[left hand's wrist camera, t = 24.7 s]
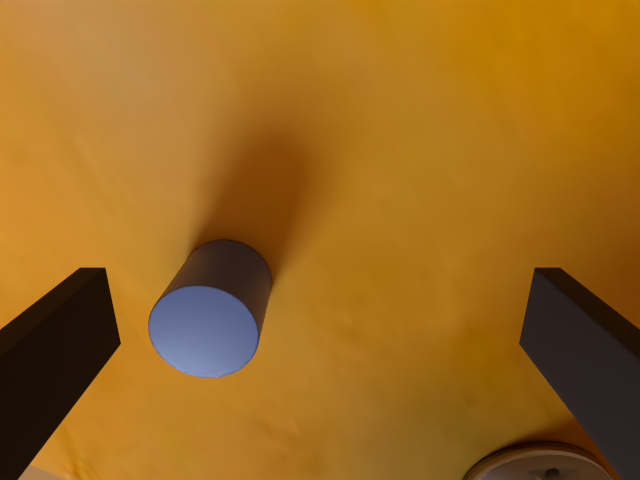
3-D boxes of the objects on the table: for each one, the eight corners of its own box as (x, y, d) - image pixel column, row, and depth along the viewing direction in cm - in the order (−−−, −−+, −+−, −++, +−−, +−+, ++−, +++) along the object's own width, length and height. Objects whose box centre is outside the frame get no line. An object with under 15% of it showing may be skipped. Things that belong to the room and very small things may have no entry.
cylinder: (243, 331, 34) (224, 394, 28) (168, 290, 33) (129, 345, 26) (288, 270, 32) (280, 322, 26) (210, 222, 31) (179, 264, 24)
